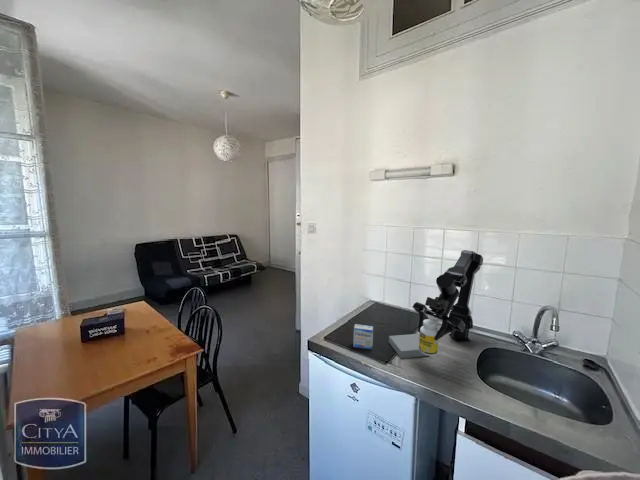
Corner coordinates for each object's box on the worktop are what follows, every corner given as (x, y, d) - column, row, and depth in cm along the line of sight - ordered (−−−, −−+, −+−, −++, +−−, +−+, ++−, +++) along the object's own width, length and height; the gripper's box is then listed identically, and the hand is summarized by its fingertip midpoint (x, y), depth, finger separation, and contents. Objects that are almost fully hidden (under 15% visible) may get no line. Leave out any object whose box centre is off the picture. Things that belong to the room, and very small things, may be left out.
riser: (414, 340, 123) (415, 334, 123) (429, 355, 112) (429, 348, 111) (388, 342, 122) (389, 336, 121) (400, 358, 110) (401, 351, 109)
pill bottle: (415, 348, 105) (416, 319, 103) (428, 345, 107) (430, 316, 105) (427, 358, 99) (429, 327, 97) (441, 354, 101) (443, 324, 99)
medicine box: (353, 347, 118) (353, 328, 116) (354, 342, 122) (354, 323, 120) (372, 349, 116) (372, 330, 114) (372, 344, 120) (373, 325, 119)
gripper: (416, 282, 109) (396, 316, 105) (463, 296, 94) (442, 337, 90) (427, 296, 115) (409, 329, 111) (473, 312, 100) (454, 351, 95)
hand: (426, 335), depth 101 cm, fingers closed on pill bottle, 6 cm apart
